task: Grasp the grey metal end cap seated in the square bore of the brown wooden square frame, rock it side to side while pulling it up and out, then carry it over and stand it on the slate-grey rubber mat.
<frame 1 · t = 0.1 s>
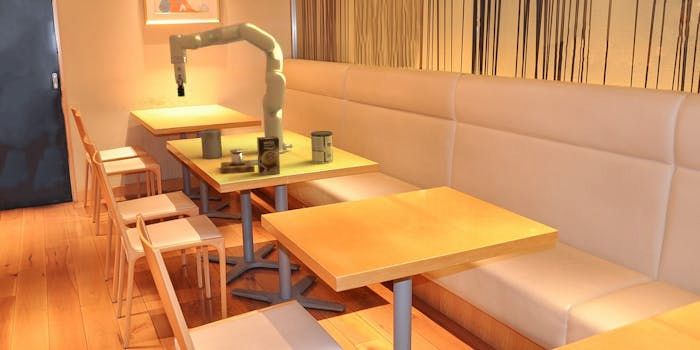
hand: (181, 95, 315), 31 cm above the table, tool pointing down, fingers open, 9 cm apart
coffee can: (322, 161, 308), on the table
coffee box: (269, 173, 284), on the table
end cap: (237, 159, 291), in the brown wooden square frame
pillar candle: (212, 157, 321), on the table
rubber mat: (250, 162, 306), on the table
brown wooden square frame: (237, 169, 292), on the table
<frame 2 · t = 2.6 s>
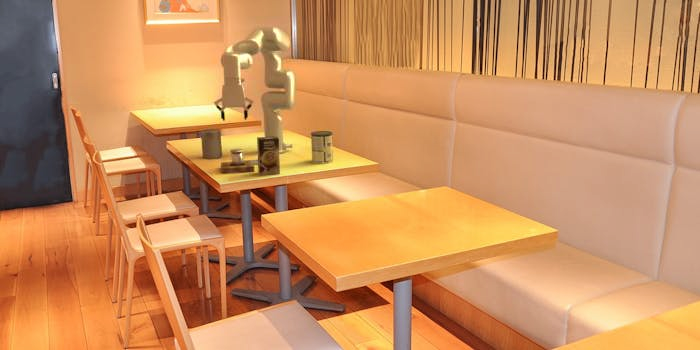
hand: (234, 119, 287), 23 cm above the table, tool pointing down, fingers open, 9 cm apart
nothing on the table moved.
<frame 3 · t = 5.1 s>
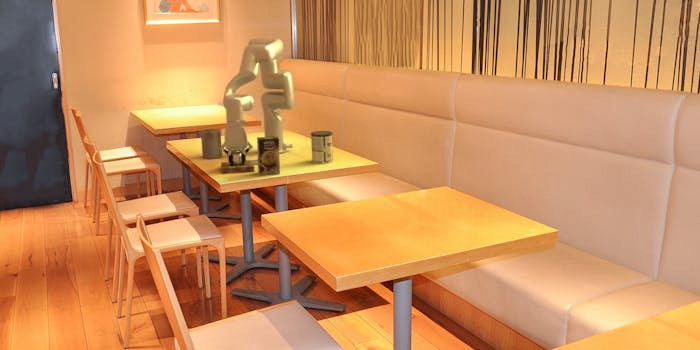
hand: (237, 163, 291), 3 cm above the table, tool pointing down, fingers closed on end cap, 5 cm apart
end cap: (237, 159, 291), in the brown wooden square frame, touching gripper
everything else where it was.
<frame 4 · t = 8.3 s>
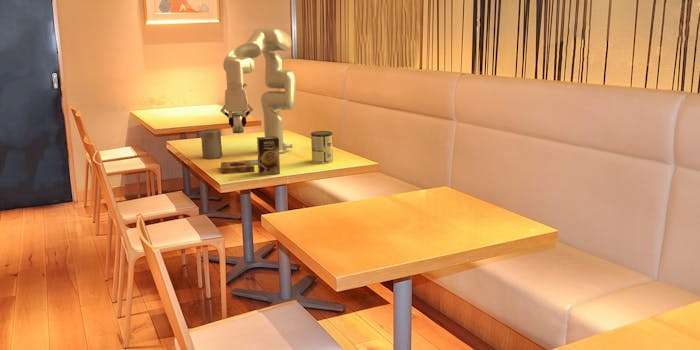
hand: (237, 125, 290), 20 cm above the table, tool pointing down, fingers closed on end cap, 5 cm apart
end cap: (237, 122, 290), point 21 cm above the table, touching gripper
everything else where it was.
when the fingers open (4 cm above the table, at t = 11.8 s): end cap stays where it is, resting on rubber mat.
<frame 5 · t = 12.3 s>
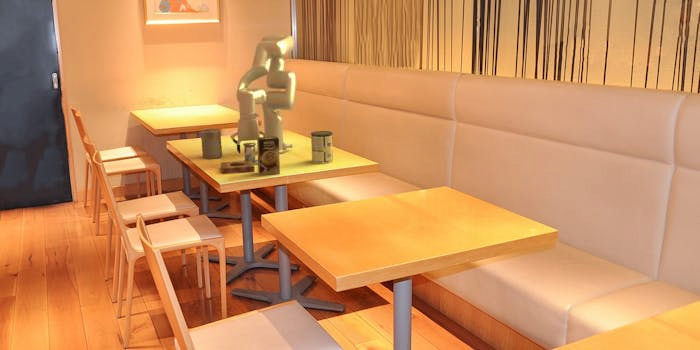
hand: (249, 152, 305), 5 cm above the table, tool pointing down, fingers open, 9 cm apart
end cap: (249, 152, 305), on the rubber mat
everything else where it was.
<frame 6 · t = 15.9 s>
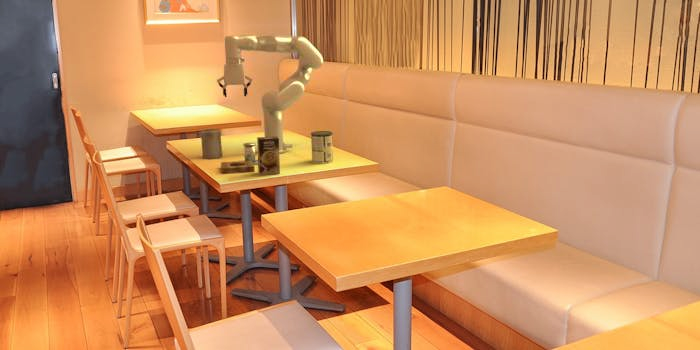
hand: (235, 96, 315), 30 cm above the table, tool pointing down, fingers open, 9 cm apart
nothing on the table moved.
at the end: end cap inside the target area (0.1 cm from its centre), resting on rubber mat; end cap tilted 0°; end cap touching rubber mat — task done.
